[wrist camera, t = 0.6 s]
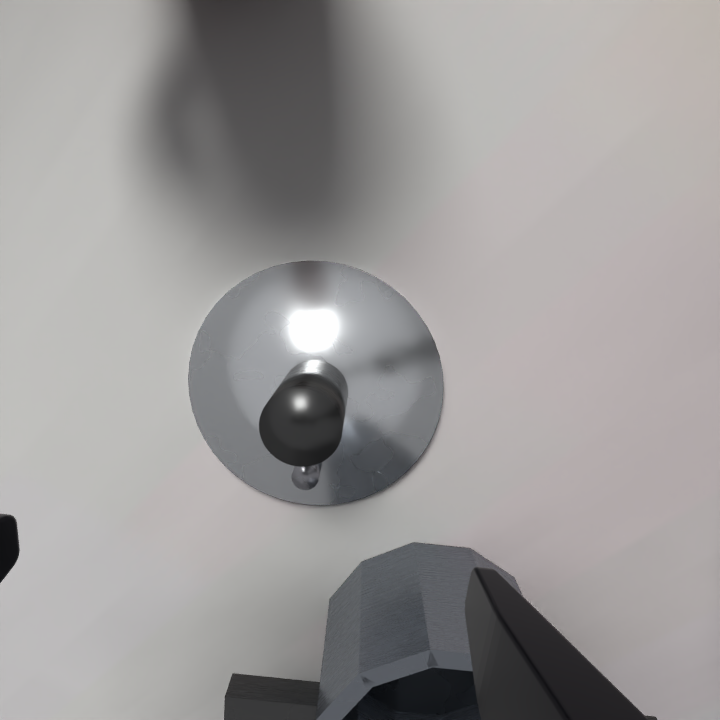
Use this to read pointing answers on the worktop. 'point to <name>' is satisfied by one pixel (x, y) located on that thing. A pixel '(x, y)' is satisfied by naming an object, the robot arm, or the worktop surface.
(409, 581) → the pot
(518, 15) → the worktop surface
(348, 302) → the lid
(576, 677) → the robot arm
